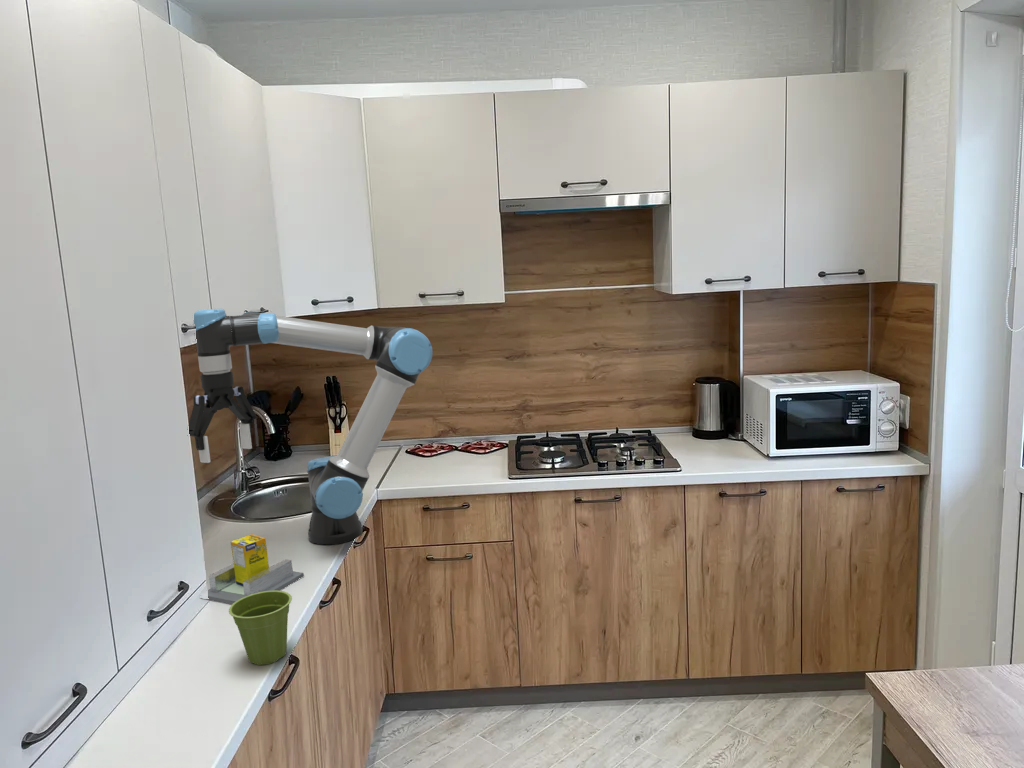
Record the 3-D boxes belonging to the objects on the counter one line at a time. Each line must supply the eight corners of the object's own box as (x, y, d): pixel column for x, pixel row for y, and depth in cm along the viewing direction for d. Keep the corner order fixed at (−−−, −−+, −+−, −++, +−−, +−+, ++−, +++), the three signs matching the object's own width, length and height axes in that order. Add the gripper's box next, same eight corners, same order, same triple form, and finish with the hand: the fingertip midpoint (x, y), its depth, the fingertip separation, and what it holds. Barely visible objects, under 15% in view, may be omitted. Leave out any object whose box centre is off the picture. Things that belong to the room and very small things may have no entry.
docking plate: (256, 568, 192) (253, 550, 191) (303, 576, 185) (301, 557, 184) (200, 598, 176) (197, 578, 176) (250, 608, 169) (247, 587, 169)
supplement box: (271, 580, 181) (266, 537, 180) (249, 589, 177) (244, 545, 175) (257, 575, 185) (252, 533, 183) (235, 584, 180) (230, 541, 179)
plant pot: (285, 635, 156) (279, 584, 154) (307, 656, 146) (300, 603, 144) (227, 655, 149) (220, 602, 147) (246, 679, 139) (239, 623, 137)
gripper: (243, 364, 196) (252, 442, 200) (163, 380, 174) (175, 467, 177) (264, 364, 193) (273, 443, 196) (185, 380, 171) (197, 469, 174)
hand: (227, 455), depth 187 cm, fingers open, 13 cm apart
